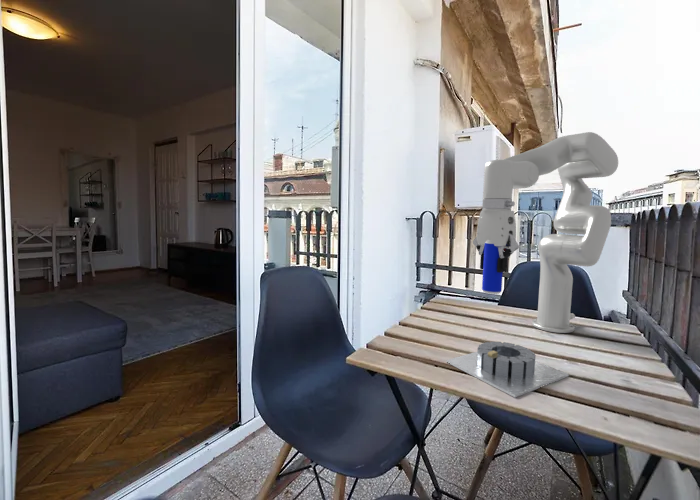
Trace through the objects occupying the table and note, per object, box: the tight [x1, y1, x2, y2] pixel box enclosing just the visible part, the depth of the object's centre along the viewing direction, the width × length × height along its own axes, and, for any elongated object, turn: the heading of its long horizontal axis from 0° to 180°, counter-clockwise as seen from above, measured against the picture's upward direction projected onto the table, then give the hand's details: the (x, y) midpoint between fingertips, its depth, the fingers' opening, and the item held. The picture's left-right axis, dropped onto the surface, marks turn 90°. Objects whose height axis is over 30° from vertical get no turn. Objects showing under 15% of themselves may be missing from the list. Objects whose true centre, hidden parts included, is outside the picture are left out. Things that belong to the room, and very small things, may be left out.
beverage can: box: [481, 240, 504, 295], centre depth 101 cm, size 5×5×15 cm
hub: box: [445, 341, 570, 399], centre depth 89 cm, size 20×20×5 cm
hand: (493, 269), depth 101 cm, fingers closed on beverage can, 5 cm apart
